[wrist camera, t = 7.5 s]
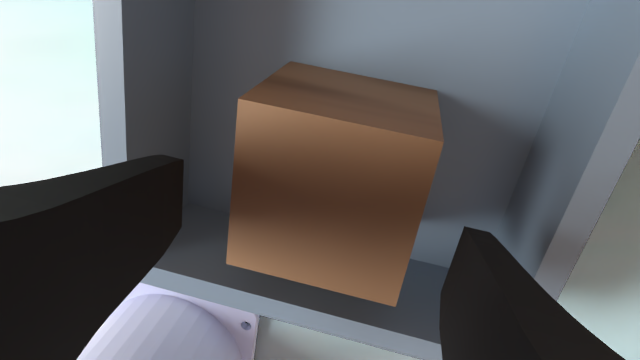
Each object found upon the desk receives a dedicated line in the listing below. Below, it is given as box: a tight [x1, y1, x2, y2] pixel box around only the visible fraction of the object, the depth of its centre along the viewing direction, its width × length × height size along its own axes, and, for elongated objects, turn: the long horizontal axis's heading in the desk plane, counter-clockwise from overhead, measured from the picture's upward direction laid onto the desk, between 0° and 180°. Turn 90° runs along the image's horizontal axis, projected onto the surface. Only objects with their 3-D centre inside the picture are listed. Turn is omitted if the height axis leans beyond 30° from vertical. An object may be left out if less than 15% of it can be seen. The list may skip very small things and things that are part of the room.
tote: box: [93, 0, 640, 360], centre depth 13 cm, size 18×14×5 cm
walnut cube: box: [226, 61, 444, 307], centre depth 14 cm, size 5×5×5 cm
